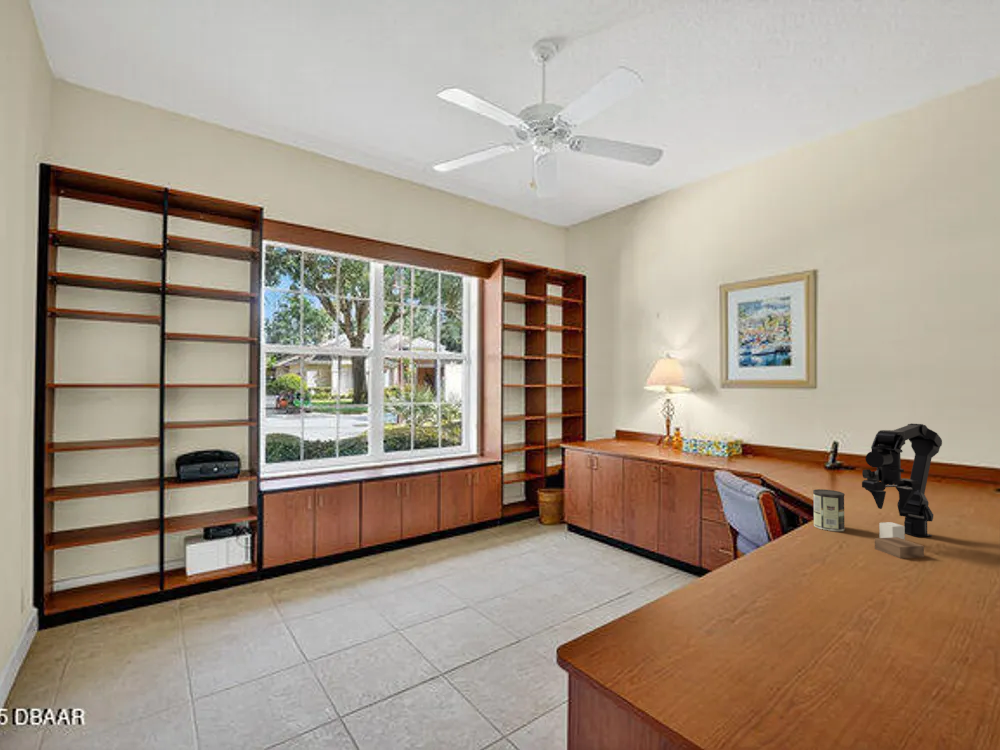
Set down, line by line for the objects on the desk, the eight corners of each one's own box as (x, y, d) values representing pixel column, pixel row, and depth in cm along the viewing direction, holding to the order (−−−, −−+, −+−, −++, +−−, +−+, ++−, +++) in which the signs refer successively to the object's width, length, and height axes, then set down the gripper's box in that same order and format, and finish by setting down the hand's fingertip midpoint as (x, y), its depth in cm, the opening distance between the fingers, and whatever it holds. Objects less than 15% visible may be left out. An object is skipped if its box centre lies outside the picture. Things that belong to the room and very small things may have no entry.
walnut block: (897, 548, 165) (897, 537, 165) (924, 558, 156) (923, 546, 156) (874, 549, 163) (874, 538, 163) (900, 559, 154) (900, 547, 155)
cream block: (891, 538, 175) (891, 522, 175) (904, 542, 170) (904, 526, 170) (879, 538, 174) (879, 522, 174) (892, 543, 169) (892, 526, 169)
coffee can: (833, 523, 192) (832, 489, 193) (851, 531, 182) (851, 495, 182) (807, 523, 193) (807, 488, 193) (824, 531, 182) (824, 494, 183)
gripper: (891, 460, 182) (892, 501, 182) (848, 462, 179) (849, 503, 179) (921, 466, 171) (921, 509, 171) (875, 467, 168) (876, 511, 168)
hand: (891, 508), depth 172 cm, fingers open, 9 cm apart
